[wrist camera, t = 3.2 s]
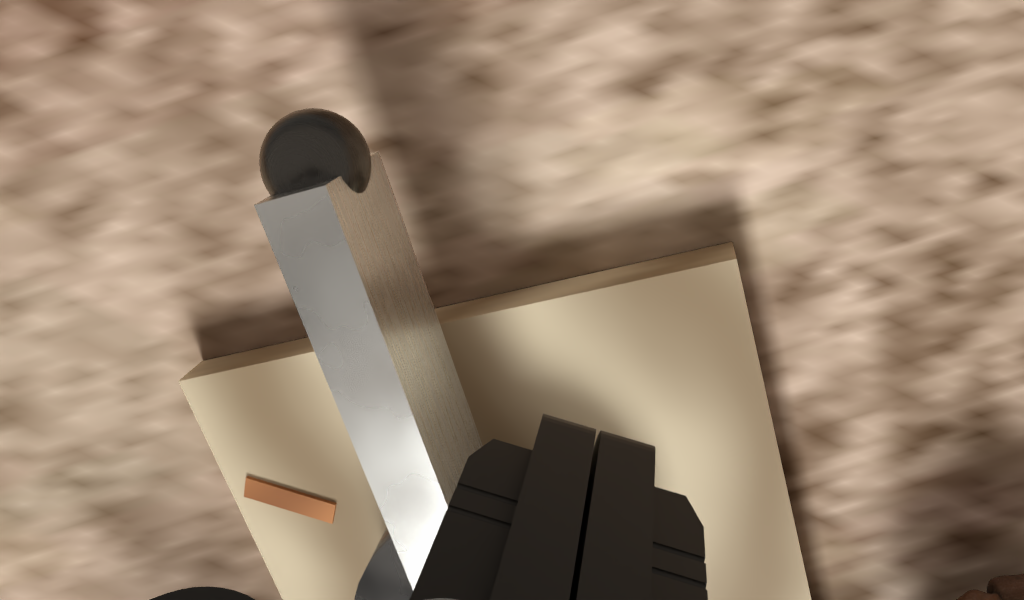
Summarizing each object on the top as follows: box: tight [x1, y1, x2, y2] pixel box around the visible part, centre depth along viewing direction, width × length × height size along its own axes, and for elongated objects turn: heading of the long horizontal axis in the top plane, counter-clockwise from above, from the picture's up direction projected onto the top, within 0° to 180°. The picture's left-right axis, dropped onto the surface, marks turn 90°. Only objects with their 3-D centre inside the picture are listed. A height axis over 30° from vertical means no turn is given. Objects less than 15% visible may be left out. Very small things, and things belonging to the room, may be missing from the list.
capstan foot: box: [254, 108, 483, 600], centre depth 23 cm, size 21×9×5 cm, turn 17°
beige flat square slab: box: [178, 242, 811, 600], centre depth 28 cm, size 18×18×2 cm
